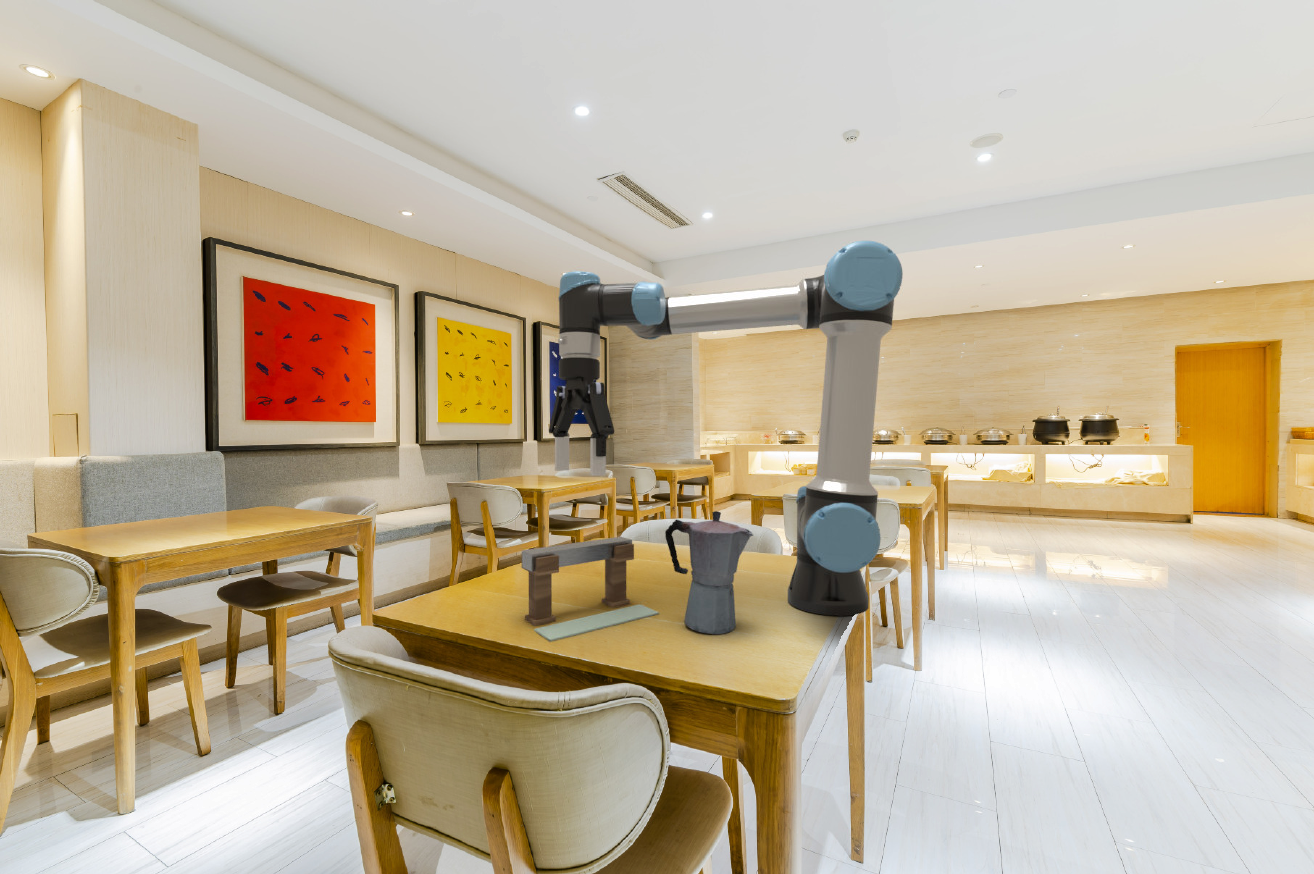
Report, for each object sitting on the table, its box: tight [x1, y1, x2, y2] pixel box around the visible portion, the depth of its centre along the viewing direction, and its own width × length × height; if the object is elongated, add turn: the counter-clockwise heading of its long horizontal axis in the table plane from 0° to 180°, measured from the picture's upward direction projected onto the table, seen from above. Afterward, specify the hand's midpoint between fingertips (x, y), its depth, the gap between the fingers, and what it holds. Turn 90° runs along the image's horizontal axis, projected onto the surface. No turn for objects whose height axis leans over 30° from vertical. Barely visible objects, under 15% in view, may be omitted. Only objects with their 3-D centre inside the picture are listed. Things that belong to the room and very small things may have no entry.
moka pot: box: [664, 510, 754, 635], centre depth 95 cm, size 10×15×20 cm, turn 78°
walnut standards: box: [521, 543, 635, 627], centre depth 103 cm, size 7×20×12 cm, turn 127°
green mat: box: [533, 603, 660, 642], centre depth 98 cm, size 6×22×1 cm, turn 127°
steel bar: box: [521, 536, 633, 572], centre depth 103 cm, size 4×21×3 cm, turn 127°
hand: (579, 472), depth 103 cm, fingers open, 13 cm apart
